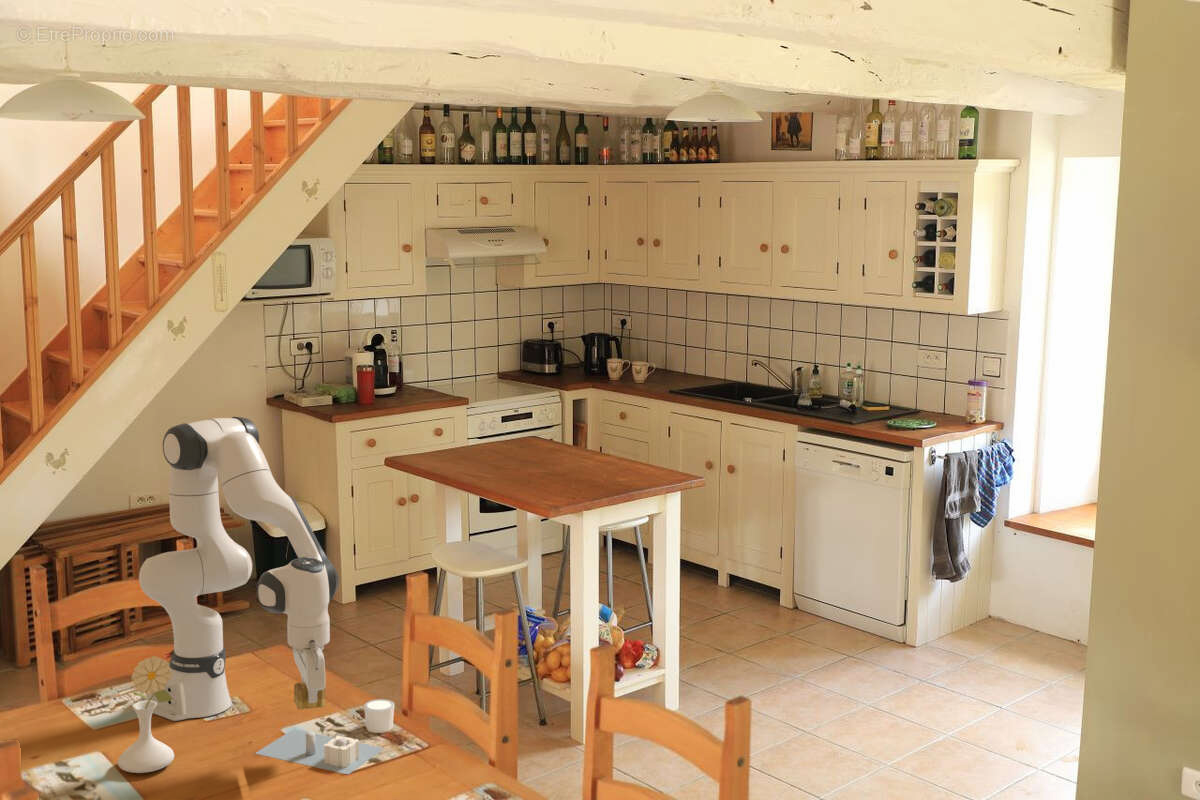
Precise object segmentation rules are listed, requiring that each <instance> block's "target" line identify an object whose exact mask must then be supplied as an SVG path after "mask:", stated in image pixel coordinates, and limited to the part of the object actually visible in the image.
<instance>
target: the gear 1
mask: <svg viewBox="0 0 1200 800" xmlns="http://www.w3.org/2000/svg"><path fill="white" fill-rule="evenodd" d="M293 685H294V687H293V703H295V705H296V709H297V710H304V709H306V710H307V709H317V708H322V709H323V708H324V707H325V706H326V687H325V688H324V689H323V690H318V694H317V702H316V703H309V701H308V689H307V686H306V684H305V682H303V683H302V682H296V683H294V684H293Z"/></svg>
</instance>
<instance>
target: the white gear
mask: <svg viewBox="0 0 1200 800" xmlns="http://www.w3.org/2000/svg"><path fill="white" fill-rule="evenodd" d="M338 739H346V746H341V747H339V746H337V740H338ZM359 743H360V742H359V739H358V738H356V739H355V738H352V737H347V736H342V735H336V736H335V737H334V739H332V740H330V741H329V742H328V744H324V762H325V764H330V765H334V766H339V767H340V766H342V768H344V767H348V765H350V764H352V763H353V762H355V761H356V759H359Z"/></svg>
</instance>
